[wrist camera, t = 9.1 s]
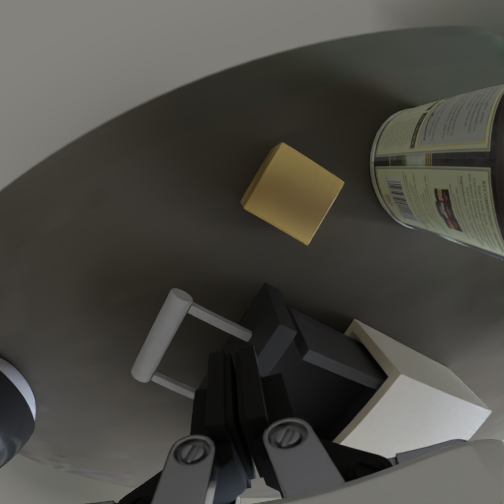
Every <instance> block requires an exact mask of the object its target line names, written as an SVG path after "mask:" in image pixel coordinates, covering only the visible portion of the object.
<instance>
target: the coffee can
mask: <svg viewBox="0 0 504 504" xmlns="http://www.w3.org/2000/svg"><path fill="white" fill-rule="evenodd" d="M370 174H371V181H372V184H373V187H374V190H375V193H376V195H377V197H378V200H379V201H380V203H381V205H382V206H383V208H384V209H385V210H386V212H387V213H388V214H389V215H390V216H391V217H392V218H393V219H394V220H395V221H396V222H398V223H400V224H402V225H403V226H406V227H408V228H411V229H416V230H420V231H423V232H426V233H429V234H432V235H435V236H438V237H441V238H444V239H447V240H450V241H453V242H456V243H459V244H462V245H464V246H467V247H470V248H473V249H475V250H478V251H481V252H483V253H486V254H489V255H491V256H494V257H497V258H499V259H502V260H504V84H502V85H497V86H493V87H488V88H484V89H481V90H476V91H472V92H469V93H465V94H461V95H457V96H453V97H450V98H446V99H442V100H439V101H435V102H432V103H428V104H425V105H421V106H418V107H415V108H409V109H404V110H401V111H399V112H397V113H395V114H393V115H392V116H390V117H389V118H388V119H387V120H386V121H385V122H384V123H383V124H382V126H381V127H380V129H379V130H378V132H377V133H376V136H375V139H374V142H373V145H372V149H371V155H370Z"/></svg>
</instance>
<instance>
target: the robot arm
mask: <svg viewBox="0 0 504 504" xmlns="http://www.w3.org/2000/svg"><path fill="white" fill-rule="evenodd" d="M239 350H240V351H239V352H235V366H234V363H233V360H232V356H231V354H230V353H229V354H225V352H224V351H220V352H215V353H210V354H209V366H208V381H207V388H204V389H198V390H195V394H194V403H193V413H192V422H191V432H190V435H189V436H186V437H183V438H181V439H179V440H178V441H176V442H175V443H174V444H173V445H172V447H171V449H170V451H169V453H168V456H167V459H166V462H165V465H164V468H163V470H162V471H160V472H159V473H158V474H156V475H155V476H153V477H152V478H151V479H149V480H148V481H146V482H145V483H144V484H142V485H141V486H139V487H138V488H136V489H135V490H133V491H132V492H131V493H129V494H128V495H126V496H125V497H123V498H122V499H121V500H120V501H119V503H115V502H114V501H106V502H98V503H90V504H241V497H240V494H241V493H242V492H244V491H245V490H246V489H247V488H251V481H250V479H255V478H256V475H255V467H254V463H255V465H256V468H257V471H258V473H259V476H260V478H262V477H263V478H264V480H265V483H266V485H267V486H269V487H271V488H273V489H276V490H278V491H279V492H280V495H281V497H282V499H277V500H273V501H267V502H261V503H255V504H504V442H502V441H499V440H493V439H484V440H475V441H469V442H468V441H466V440H463V439H452V440H448V441H445V442H441V443H438V444H434V445H430V446H426V447H422V448H418V449H414V450H410V451H406V452H401V453H396V455H395V457H392V458H386V457H383V456H381V455H378V454H374V453H370V452H366V451H362V450H359V449H355V448H351V447H348V446H344V445H341V444H338V443H334V442H331V441H328V440H325V439H321V438H318V437H317V435H316V434H315V432H314V430H313V429H312V427H311V426H310V425H309V423H308V422H306V421H304V420H302V419H299V418H294V415H293V411H292V408H291V404H290V401H289V397H288V394H287V390H286V387H285V383H284V380H283V376H282V373H278V374H273V375H269V376H265V377H262V375H261V371H260V367H259V363H258V359H257V355H256V351H255V347H254V344H253V345H249V346H244V347H240V348H239ZM235 368H236V370H235Z"/></svg>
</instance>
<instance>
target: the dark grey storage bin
mask: <svg viewBox="0 0 504 504" xmlns="http://www.w3.org/2000/svg"><path fill="white" fill-rule="evenodd" d="M187 311H188V313H189V314H191V315H193V316H195V317H197V318H199V319H201V320H203V321H205V322H207V323H209V324H211V325H213V326H215V327H217V328H219V329H221V330H223V331H225V332H227V333H230V334H232V336H231V338H230V339H229V341H228V342H227V344H226V346H225V347H224V349H223V350H222V351H224V352H225V354H229V353H230V354H231V356H232V360H233V363H234V366H235V352H239V351H240V350H239V348H240V347H244V346H249V345H253V344H254V347H255V351H256V355H257V359H258V363H259V367H260V371H261V375H262V377H265V376H269V375H273V374H278V373H282V376H283V380H284V383H285V387H286V390H287V394H288V397H289V401H290V404H291V408H292V411H293V415H294V418H299V419H302V420H304V421H306V422H308V423H309V425H310V426H311V427H312V429H313V430H314V432H315V434H316V435H317V437H318V438H321V439H325V440H328V441H331V442H332V441H333V440H334V439H335V438H336V437H337V436H338V435H339V434H340V433H341V432H342V431H343V430H344V429H345V428H346V427H347V425H348V424H349V423H350V422H351V421H352V420H353V419H354V418H355V417H356V415H357V414H358V413H359V412H360V411H361V410H362V409H363V407H364V406H365V405H366V404H367V403H368V402H369V400H370V399H371V398H372V397H373V396H374V394H375V393H376V392H377V391H378V390H379V388H380V387H381V386H382V385H383V383H384V382H385V381H386V380H387V378H388V375H387V374H386V373H385V372H384V370H383V369H382V368H381V366H380V365H379V364H378V362H377V361H376V360H375V359H374V357H373V356H372V355H371V353H370V352H369V351H368V349H367V348H366V347H365V346H364V344H363V343H360V342H358V341H356V340H354V339H352V338H350V337H348V336H346V335H344V334H342V333H340V332H338V331H336V330H334V329H332V328H330V327H328V326H326V325H324V324H322V323H320V322H318V321H316V320H314V319H312V318H310V317H308V316H306V315H304V314H302V313H300V312H298V311H296V310H294V309H292V308H290V307H289V308H288V310H287V308H286V306H285V303H284V301H283V299H282V297H281V295H280V292H279V290H278V289H276V288H274V287H272V286H270V285H268V284H266V283H264V285H263V286H262V288H261V290H260V291H259V293H258V295H257V296H256V298H255V299H254V301H253V303H252V304H251V306H250V307H249V309H248V311H247V312H246V314H245V315H244V317H243V319H242V320H241V322H240V323H239V325H238V324H236V323H234V322H232V321H230V320H228V319H226V318H224V317H222V316H220V315H218V314H216V313H214V312H212V311H210V310H208V309H206V308H204V307H202V306H200V305H198V304H196V303H194V302H193V299H192V297H191V296H190V295H189V294H188V293H186V292H185V291H183V290H180V289H177V288H173V289H171V291H170V293H169V295H168V297H167V299H166V301H165V302H164V304H163V306H162V308H161V310H160V312H159V314H158V316H157V318H156V320H155V322H154V324H153V326H152V328H151V330H150V332H149V334H148V336H147V338H146V340H145V342H144V344H143V346H142V348H141V350H140V353H139V355H138V357H137V359H136V361H135V363H134V365H133V367H132V369H131V374H132V376H133V377H134V378H135V379H136V380H138V381H140V382H149V381H150V380H151V381H153V382H155V383H158V384H160V385H162V386H164V387H166V388H168V389H171V390H173V391H175V392H177V393H179V394H182V395H184V396H186V397H189V398H191V399H193V400H194V394H195V390H198V389H204V388H207V381H208V374H207V375H206V377H205V378H204V380H203V382H202V383H201V385H200V386H199V388H198V389H194V388H192V387H190V386H188V385H185V384H183V383H181V382H179V381H176V380H174V379H172V378H170V377H168V376H166V375H164V374H161V373H159V372H157V371H155V370H156V368H157V366H158V365H159V363H160V361H161V359H162V357H163V355H164V353H165V352H166V350H167V348H168V346H169V344H170V342H171V340H172V339H173V337H174V335H175V333H176V331H177V329H178V328H179V326H180V324H181V322H182V320H183V319H184V317H185V315H186V313H187ZM235 370H236V368H235Z"/></svg>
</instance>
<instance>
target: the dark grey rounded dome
mask: <svg viewBox="0 0 504 504" xmlns="http://www.w3.org/2000/svg"><path fill="white" fill-rule="evenodd" d="M35 414H36V407H35V400H34V396H33V393H32V391H31V389H30V387H29V385H28V383H27V381H26V380H25V378H24V377H23V376H22V375H21V373H20V372H19V371H18V370H17V369H16V368H15V367H14V366H12V365H11V364H10V363H8V362H7V361H5V360H3V359H1V358H0V468H1V467H2V466H4V465H5V464H6V463H7V462H9V461H10V460H11V459H12V458H13V457H14V456H15V455H16V454H17V453H18V452H19V451H20V450H21V448H22V447H23V446H24V445H25V444H26V443H27V441H28V440H29V439H30V437H31V435H32V434H33V431H34V428H35V422H34V421H35Z"/></svg>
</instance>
